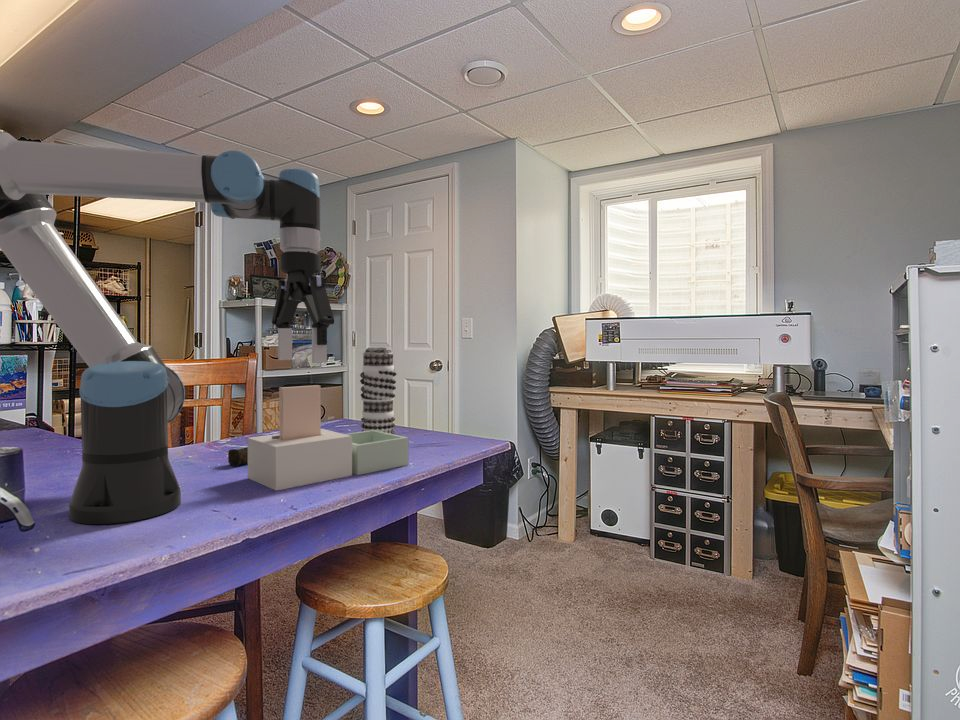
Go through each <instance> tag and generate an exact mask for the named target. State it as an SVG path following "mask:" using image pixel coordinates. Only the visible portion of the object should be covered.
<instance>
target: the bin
mask: <svg viewBox="0 0 960 720" xmlns="http://www.w3.org/2000/svg"><path fill="white" fill-rule="evenodd" d="M345 434H346V435H350V436H352V475H353V474H354V475H355V476H356V475H357V476H360V475H364V474H371V473H374V472H379V471H384V470H389V469H395V468H398V467H405V466H409V454H410V453H409V452H410V451H409V449H410V448H409V446H410V445H409V443H410V442H409V439H410V438H409V437H407V436H403V435H398V434H395V433H394V434H390V433H385V432H381V431H376V430H370V431H363V432H361V431H357V432H349V433H345Z"/></svg>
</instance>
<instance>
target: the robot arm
mask: <svg viewBox="0 0 960 720" xmlns="http://www.w3.org/2000/svg"><path fill="white" fill-rule="evenodd" d="M320 191H321V190H320V180H319V177H318V175H316V174H315V173H314V172H312V171H309V170H306V169H303V168H302V169H301V168H287V169H286V168H285V169H283V170H280V171H279V174H278V178H277V179H265V177H264V176H263V172H262V170H261V167H260V166H259V164H258V163H257V161H256V160H255V159H253V157H251V156H250V155H249V154H247V153H246V152H243V151H239V150H227V151H224V152H222V153H220V154H219V155H206V154H205V155H204V154H190V153H178V152H169V151H168V152H167V151H166V152H165V151H153V150H142V149H141V150H139V149H130V148H116V147H115V148H114V147H106V146H105V147H103V146H92V145H90V146H89V145H81V144H80V145H78V144H67V143H54V142H40V141H28V140H19V139H16V138H15V137H14V136H13V135H11V134H10V133H8V132H5V131H0V250H1V251H2V253H3V254H4V255H5V257H6V258H7V260H8V261H9V262H10V263H11V265H12V266H13V267H14V269H15V270H16V272H17V273H18V274H19V275H20V277H21V278H22V280H23V281H24V283H25V284H26V285H27V286H28V287H29V289H30V290H31V291H32V293H33V294H34V295H35V297H36V298H37V300H38V301H39V303H41V305H42V306H43V307H44V308H45V310H46V312H47V313H48V314H49V316H51V318H52V320H53V321H54V323H55V324H56V326H58V328H59V329H60V330H61V331H62V333H63V334H64V336H65V337H66V338H67V340H68V341H69V342H70V344H71V345H72V346H73V348H74V349H75V350H76V351H77V353H78V354H79V356H80V357H81V358H82V360H83V361H84V363H85V364H86V365H87V366H88V367H87V368H85V370H83V372H82V373H81V377H80V386H79V388H78V389H79V392H78V393H79V396H80V411H81V412H80V419H81V420H80V422H81V452H82V453H81V456H82V458H81V460H82V463H81V469H80V472H79V474H78V478H77V481H76V484H75V486H74V488H73V491H72V492H73V493H72V494H71V497H70V500H69V503H68V508H69V509H68V511H69V514H68V515H69V519H70V520H71V521H73V522H75V523H79V524H86V525H89V524H90V525H108V524H109V525H110V524H121V523H128V522H135V521H140V520H145V519H149V518H153V517H157V516H160V515H164V514H166V513H169V512H170V511H171V512H172V511H173V510H175V509H177V508H178V507H179V506H180V505H181V503H182V496H181V495H182V492H181V487H180V484H179V482H178V480H177V476H176V475H175V472H174V469H173V466H172V464H171V461H170V459H169V429H168V428H169V427H168V425H169V424H170V423H171V422H172V421H174V420H175V418H176V417H177V416H178V415H179V413H180V412H181V410H182V408H183V406H184V403H185V399H186V398H185V397H186V388H185V385H184V383H183V380H182V379H181V377H180V375H179V374H178V373H176V372H175V371H174V370H173V369H171V368H170V367H168V366H167V365H166V364H165V363H164V361H163V360H162V358H161V357H160V356H159V354H158V353H157V352H156V350H155V348H154V347H153V346H152V345H149V344H146V343H140V342H139V341H137V339H136V337H134V335H133V334H132V332H131V331H130V329H129V328H128V327H127V326H126V324H125V323H124V321H123V320H122V318H121V317H120V315H119V314H118V313H117V312H116V309H114V307H113V306H112V304H111V303H110V302H109V300H108V299H107V298H106V296H105V295H104V293H103V292H102V291H101V289H100V288H99V285H97V283H96V282H95V280H94V279H93V278H92V277H91V275H90V274H89V273H88V271H87V269H86V268H85V266H84V265H83V264H82V263H81V261H80V260H79V258H78V257H77V255H75V253H74V252H73V250H72V249H71V247H70V246H69V244H68V243H67V242H66V241H65V239H64V237H63V236H62V235H61V233H60V232H59V230H57V228H56V226H55V221H56V217H57V211H56V210H55V208H54V207H53V205H51V203H50V201H49V200H48V198H47V196H48V195H49V196H65V197H66V196H67V197H68V196H70V197H71V196H72V197H85V198H86V197H90V198H92V197H93V198H108V199H130V200H131V199H132V200H148V201H149V200H150V201H151V200H152V201H168V202H169V201H170V202H171V201H172V202H187V203H188V202H189V203H194V202H195V203H207V204H208V203H209V204H210V209H211V212H212V214H213V215H214V216H216V217H220V218H229V219H230V220H234V219H243V220H244V219H245V220H265V221H266V220H267V221H273V222H274V221H279V249H280V250H281V251H282V252H281V253H280V254H279V261H280V262H279V263H280V266H279V268H280V271H281V273H284V274H286V275H287V278H286V279H283V278H280V279H278V291H277V295H276V299H275V305H274V309H273V315H272V319H271V324H272V325H273V326H275V327H276V328H277V351H278V352H277V355H278V356H277V357H278V358H277V359H278V361H293V325H292V322H293V319H294V316H295V313H296V311H297V308H298V306H299V304H300V303H302V302H303V304H304V306H305V308H306V311H307V312H308V314H309V317H310V320H311V322H312V324H311V326H310V327H311V363H312V364H324V363H328V344H327V343H328V329H329V327H330V326H331V325H334V324H335V318H334V314H333V311H332V308H331V304H330V300H329V297H328V293H327V289H326V280H325V279H326V278H325V276H324V275H318V274H320V273H321V272H322V271H321V270H322V268H321V265H322V263H321V262H322V261H321V259H322V258H321V255H320V254H319V252H320V251H321V242H322V238H321V193H320Z"/></svg>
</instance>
